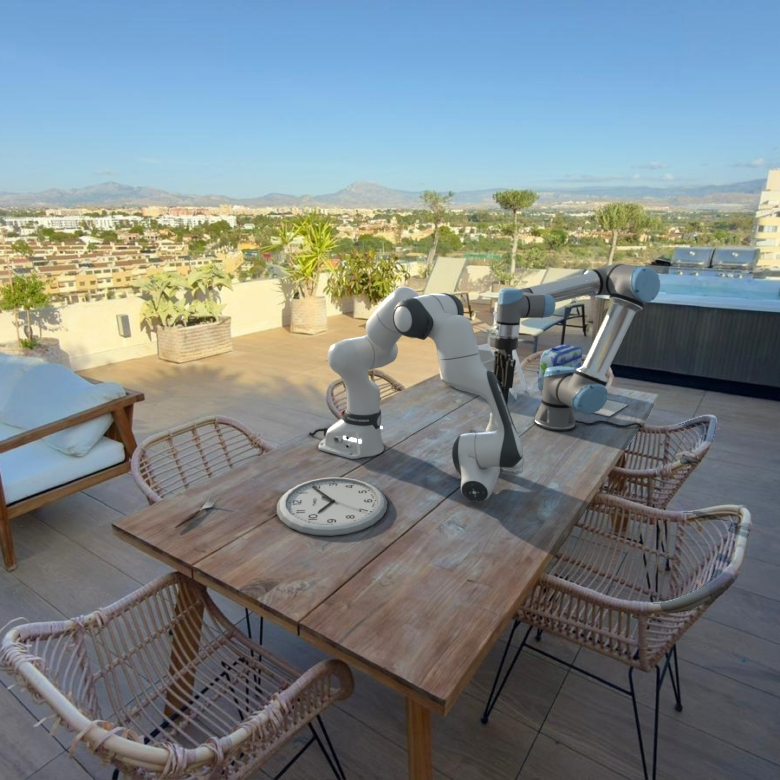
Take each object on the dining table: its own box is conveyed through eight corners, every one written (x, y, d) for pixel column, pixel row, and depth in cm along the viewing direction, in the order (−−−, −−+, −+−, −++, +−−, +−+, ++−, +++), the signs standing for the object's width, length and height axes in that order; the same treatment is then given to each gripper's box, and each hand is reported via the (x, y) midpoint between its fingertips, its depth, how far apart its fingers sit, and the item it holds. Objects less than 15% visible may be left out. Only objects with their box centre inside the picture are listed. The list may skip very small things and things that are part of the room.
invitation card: (608, 416, 214) (573, 407, 224) (608, 416, 214) (573, 408, 224) (628, 404, 229) (594, 396, 238) (628, 405, 229) (594, 397, 238)
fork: (171, 528, 130) (170, 521, 130) (212, 499, 145) (211, 492, 144) (179, 530, 129) (178, 523, 129) (220, 500, 144) (219, 494, 143)
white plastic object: (461, 429, 252) (437, 405, 227) (444, 352, 274) (420, 323, 250) (535, 404, 240) (518, 377, 215) (510, 326, 262) (492, 293, 237)
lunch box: (554, 397, 237) (559, 352, 231) (533, 392, 244) (538, 348, 238) (581, 386, 255) (586, 344, 248) (560, 381, 262) (565, 340, 256)
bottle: (480, 466, 167) (484, 411, 162) (496, 466, 168) (501, 410, 163) (485, 474, 162) (490, 417, 157) (501, 473, 163) (507, 416, 158)
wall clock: (392, 527, 129) (268, 531, 127) (391, 533, 130) (269, 537, 127) (383, 473, 158) (282, 475, 155) (383, 478, 158) (282, 480, 156)
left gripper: (522, 463, 147) (527, 445, 160) (451, 452, 154) (462, 435, 166) (520, 483, 149) (525, 464, 162) (450, 471, 156) (461, 454, 168)
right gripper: (486, 331, 179) (481, 396, 186) (505, 342, 163) (499, 412, 169) (507, 331, 180) (501, 395, 187) (528, 342, 164) (520, 412, 171)
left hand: (493, 449), depth 164 cm, fingers closed on bottle, 5 cm apart
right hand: (500, 403), depth 178 cm, fingers closed on cap, 4 cm apart
